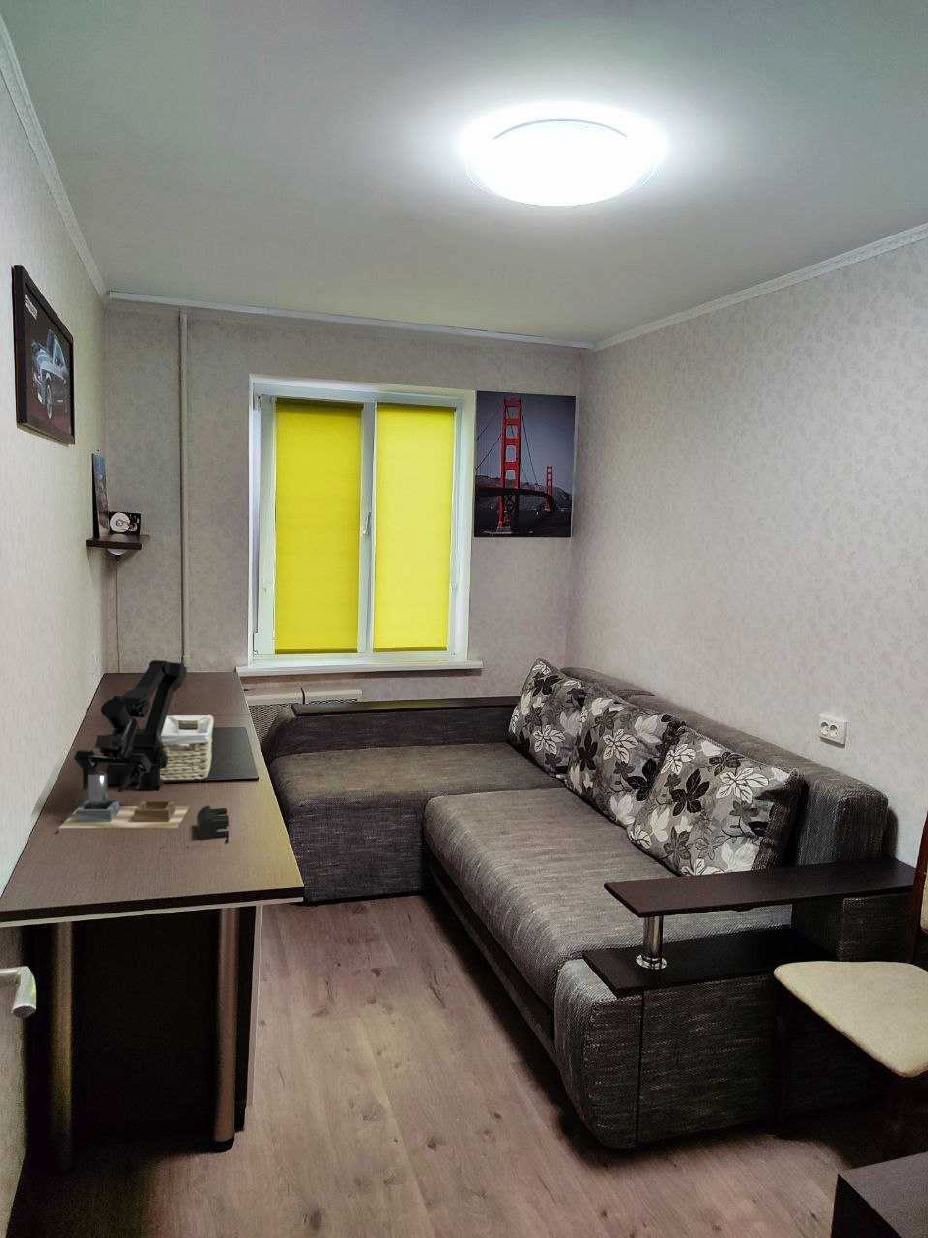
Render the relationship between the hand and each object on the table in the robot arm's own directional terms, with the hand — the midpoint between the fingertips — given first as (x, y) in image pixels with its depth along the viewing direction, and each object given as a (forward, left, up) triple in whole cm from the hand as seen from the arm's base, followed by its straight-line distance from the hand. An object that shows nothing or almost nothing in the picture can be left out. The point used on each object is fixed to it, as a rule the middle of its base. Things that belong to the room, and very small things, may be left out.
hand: (101, 790), depth 227 cm
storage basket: (-44, +12, -8) cm, 47 cm away
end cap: (+13, +30, -8) cm, 33 cm away
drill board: (+2, +7, -8) cm, 10 cm away
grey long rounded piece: (+2, 0, -6) cm, 6 cm away
